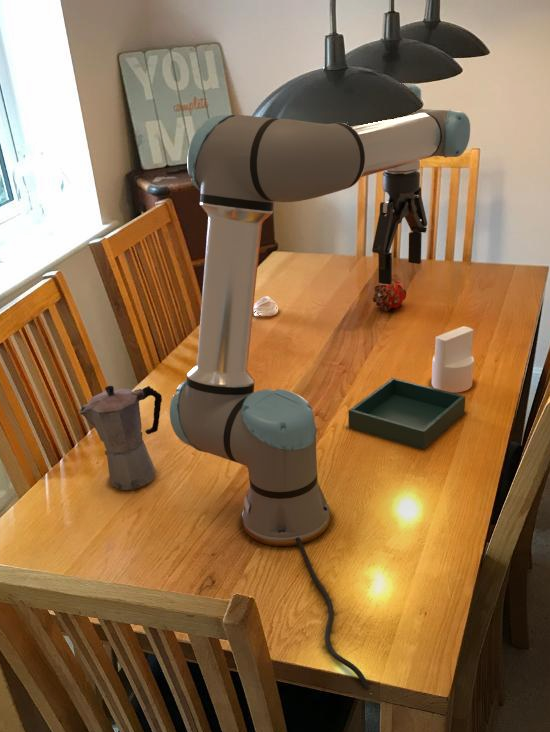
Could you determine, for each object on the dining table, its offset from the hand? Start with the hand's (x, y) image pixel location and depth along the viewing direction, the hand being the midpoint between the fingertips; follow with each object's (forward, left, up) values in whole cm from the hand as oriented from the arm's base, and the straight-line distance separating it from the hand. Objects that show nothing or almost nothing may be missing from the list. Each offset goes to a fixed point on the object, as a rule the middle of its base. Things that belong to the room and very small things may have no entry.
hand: (400, 272), depth 181 cm
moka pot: (+4, +69, -24) cm, 73 cm away
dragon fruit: (+30, -27, -24) cm, 47 cm away
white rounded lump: (+52, -1, -24) cm, 57 cm away
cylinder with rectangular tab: (-13, -4, -24) cm, 27 cm away
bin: (-18, +16, -23) cm, 33 cm away
